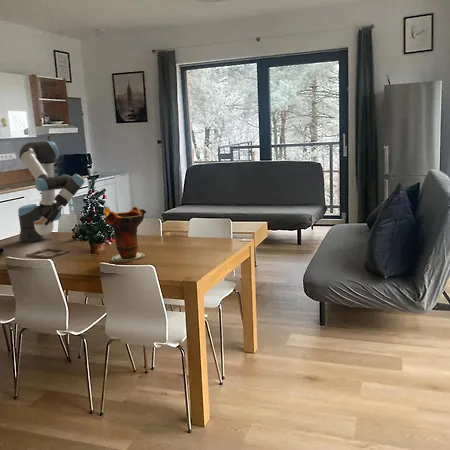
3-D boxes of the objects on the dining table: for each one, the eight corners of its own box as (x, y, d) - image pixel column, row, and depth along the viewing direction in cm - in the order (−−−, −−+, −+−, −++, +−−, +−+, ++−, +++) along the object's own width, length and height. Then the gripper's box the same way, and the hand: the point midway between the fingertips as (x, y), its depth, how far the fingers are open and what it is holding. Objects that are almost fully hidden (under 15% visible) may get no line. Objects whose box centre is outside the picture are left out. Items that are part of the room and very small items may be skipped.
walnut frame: (48, 249, 297) (48, 247, 296) (69, 252, 287) (69, 250, 287) (26, 256, 283) (25, 254, 283) (47, 259, 274) (47, 257, 274)
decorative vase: (158, 254, 269) (151, 204, 263) (121, 266, 254) (113, 212, 248) (137, 249, 284) (131, 201, 278) (101, 259, 270) (93, 209, 264)
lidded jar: (38, 232, 288) (36, 216, 286) (56, 231, 289) (55, 215, 287) (32, 236, 278) (30, 220, 276) (52, 235, 279) (50, 219, 277)
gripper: (74, 203, 278) (48, 234, 273) (63, 199, 298) (40, 228, 293) (63, 195, 274) (37, 226, 270) (53, 191, 294) (29, 221, 289)
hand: (39, 227), depth 281 cm, fingers closed on lidded jar, 11 cm apart
